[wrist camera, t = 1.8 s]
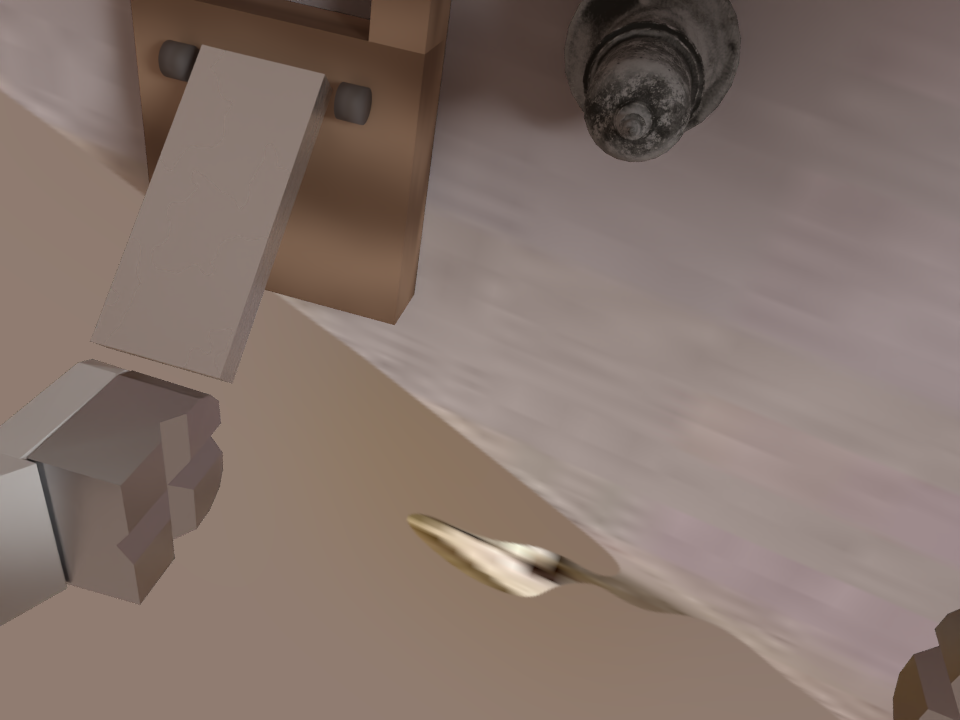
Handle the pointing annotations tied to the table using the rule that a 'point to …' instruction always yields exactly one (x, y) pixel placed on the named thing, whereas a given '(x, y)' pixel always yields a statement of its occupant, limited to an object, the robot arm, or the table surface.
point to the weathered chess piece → (649, 69)
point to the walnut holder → (325, 131)
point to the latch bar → (214, 213)
